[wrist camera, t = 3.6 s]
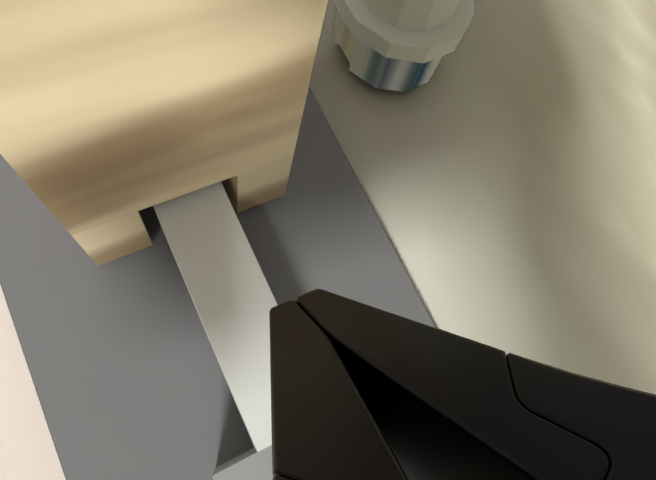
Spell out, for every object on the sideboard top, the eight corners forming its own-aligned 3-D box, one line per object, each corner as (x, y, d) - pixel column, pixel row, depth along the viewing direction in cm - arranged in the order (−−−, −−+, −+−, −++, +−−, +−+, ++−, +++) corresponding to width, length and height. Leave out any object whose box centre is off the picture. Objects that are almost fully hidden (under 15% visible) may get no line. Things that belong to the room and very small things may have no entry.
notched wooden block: (284, 195, 18) (365, -168, 7) (97, 265, 17) (-193, -67, 5) (228, 78, 20) (218, -397, 8) (46, 132, 18) (-284, -379, 6)
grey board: (505, 476, 18) (568, 488, 14) (146, 699, 14) (120, 783, 11) (169, -169, 24) (158, -262, 21) (-131, -121, 21) (-200, -224, 17)
